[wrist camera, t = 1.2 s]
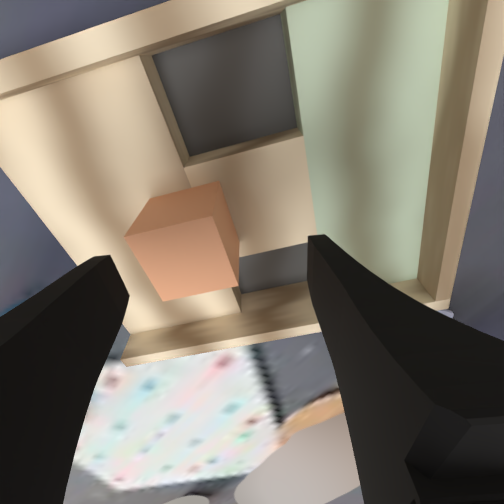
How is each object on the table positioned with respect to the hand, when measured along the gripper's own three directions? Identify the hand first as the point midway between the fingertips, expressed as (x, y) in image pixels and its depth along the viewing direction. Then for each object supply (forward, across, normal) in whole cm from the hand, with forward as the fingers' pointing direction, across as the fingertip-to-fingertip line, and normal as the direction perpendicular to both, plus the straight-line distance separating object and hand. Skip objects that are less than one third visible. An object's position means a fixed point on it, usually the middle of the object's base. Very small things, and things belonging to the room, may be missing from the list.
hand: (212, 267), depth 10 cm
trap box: (+10, -1, +2) cm, 11 cm away
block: (+8, +2, +2) cm, 8 cm away
